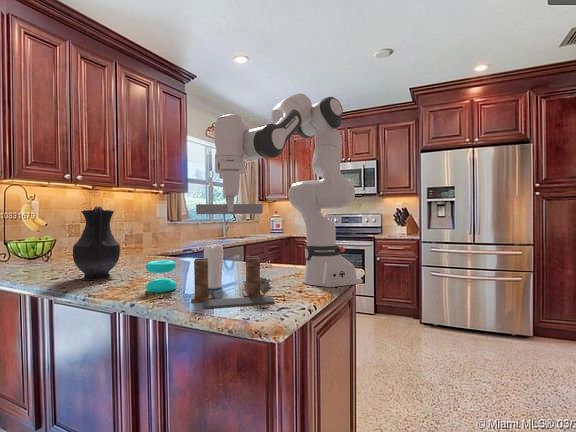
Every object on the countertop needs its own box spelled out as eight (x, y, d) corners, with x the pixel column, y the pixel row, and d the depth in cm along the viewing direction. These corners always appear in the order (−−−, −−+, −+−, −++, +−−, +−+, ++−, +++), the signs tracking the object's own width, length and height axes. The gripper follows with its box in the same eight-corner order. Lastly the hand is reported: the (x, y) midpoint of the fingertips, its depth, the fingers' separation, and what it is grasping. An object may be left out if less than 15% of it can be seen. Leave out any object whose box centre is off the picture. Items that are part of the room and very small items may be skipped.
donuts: (140, 264, 112) (153, 259, 122) (140, 293, 112) (153, 287, 122) (169, 263, 112) (180, 259, 122) (170, 293, 112) (180, 286, 122)
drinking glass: (219, 290, 116) (218, 247, 116) (201, 289, 117) (200, 246, 117) (226, 285, 123) (226, 245, 123) (209, 285, 124) (208, 244, 124)
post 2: (260, 293, 111) (260, 255, 111) (263, 297, 105) (263, 258, 105) (242, 294, 110) (242, 256, 109) (244, 298, 104) (244, 259, 104)
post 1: (211, 296, 107) (211, 257, 107) (211, 301, 101) (211, 260, 101) (192, 297, 106) (191, 258, 106) (191, 302, 100) (190, 261, 100)
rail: (261, 213, 107) (261, 204, 107) (262, 213, 104) (262, 203, 104) (196, 214, 103) (196, 204, 103) (196, 214, 100) (196, 204, 100)
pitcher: (118, 272, 153) (117, 207, 152) (123, 280, 135) (122, 206, 135) (73, 276, 144) (72, 207, 144) (72, 285, 126) (70, 205, 126)
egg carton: (261, 293, 112) (261, 281, 112) (240, 292, 114) (240, 280, 114) (272, 286, 122) (272, 275, 122) (253, 285, 124) (253, 274, 124)
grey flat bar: (270, 297, 105) (270, 295, 105) (274, 303, 98) (274, 301, 98) (204, 302, 100) (204, 300, 100) (204, 308, 94) (204, 306, 94)
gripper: (218, 171, 113) (219, 212, 113) (219, 162, 93) (220, 211, 93) (237, 171, 114) (237, 211, 114) (242, 162, 94) (243, 211, 94)
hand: (230, 211), depth 104 cm, fingers closed on rail, 3 cm apart
